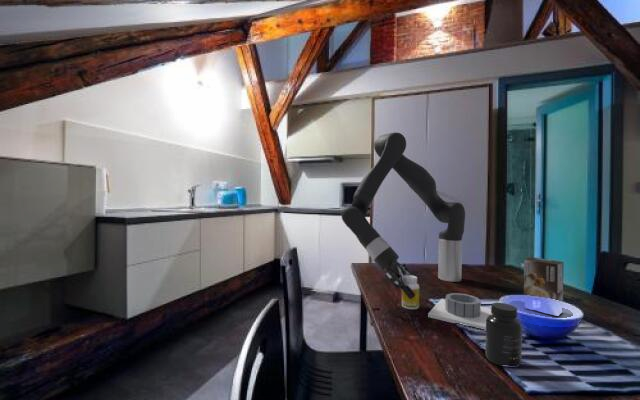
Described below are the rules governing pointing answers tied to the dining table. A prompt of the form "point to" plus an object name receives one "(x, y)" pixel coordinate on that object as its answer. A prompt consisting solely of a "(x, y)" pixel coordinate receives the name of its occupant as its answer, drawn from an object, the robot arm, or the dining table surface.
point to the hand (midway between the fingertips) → (416, 294)
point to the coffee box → (543, 278)
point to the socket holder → (461, 310)
